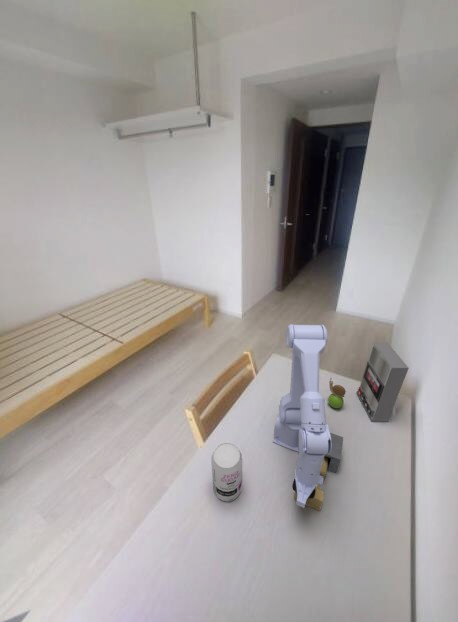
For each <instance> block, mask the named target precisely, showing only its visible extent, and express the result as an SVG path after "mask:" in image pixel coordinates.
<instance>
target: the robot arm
mask: <svg viewBox="0 0 458 622" xmlns="http://www.w3.org/2000/svg"><path fill="white" fill-rule="evenodd" d="M285 334H286V337H285V346H286V347H287V348H289V349H291V351H290V352H291V353H292V359H291V372H290V383H289V384H290V388H289V392H288V393H287V394H285V395H283V396H281V397H280V400H279V402H280V403H279V404H278V414H277V417H276V420H275V423H274V430H273V437H272V438H273V439H272V442H273V443H274V444H277V445H279V446H281V447H285V448H286V449H289V450H292V451H294V452H295V453H296V452H297V453H298V457H297V463H296V467H295V468H294V479H293V482H292V490H293V491H294V493H295V492H296V494H297V500H296V502H295V504H296V505H297V506H299V507H300V508H303V509H305V507H306V504H305V503H306V501H307V500H308V499H309V498H312V499H313V498H314V496H315V492H316V490H315V489H314V488H315V487H316V486H317V485H320V486H323V484H324V477H322V476H320V471H321V467H322V463H323V459H324V456H325V454H327V453H328V454H330V453H331V449H332V443H331V435H330V433H331V432H330V427H329V424H328V423H327V417H326V416H327V415H326V401H325V397H324V396H323V395H322V394H321V393H320V365H321V364H320V357H321V355H322V354H323V353H324V352H325V349H326V346H327V343H328V337H329V336H328V330H327V327H326V326H325V325H324V324H292V323H290V324H288V326H287V327H286V333H285Z"/></svg>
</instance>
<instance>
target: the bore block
mask: <svg viewBox="0 0 458 622" xmlns="http://www.w3.org/2000/svg"><path fill="white" fill-rule="evenodd" d="M330 435H331V443H332V449H331V453H330V454H328V453H327V454H325V456H326V457H329V459H328V466H327V471H328V472H331V473H333V474H335V475H337V474H338V471H339V468H340V464H341V461H342V453H343V443H344V436H341V435H339V434H335V433H333V432H330Z"/></svg>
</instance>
